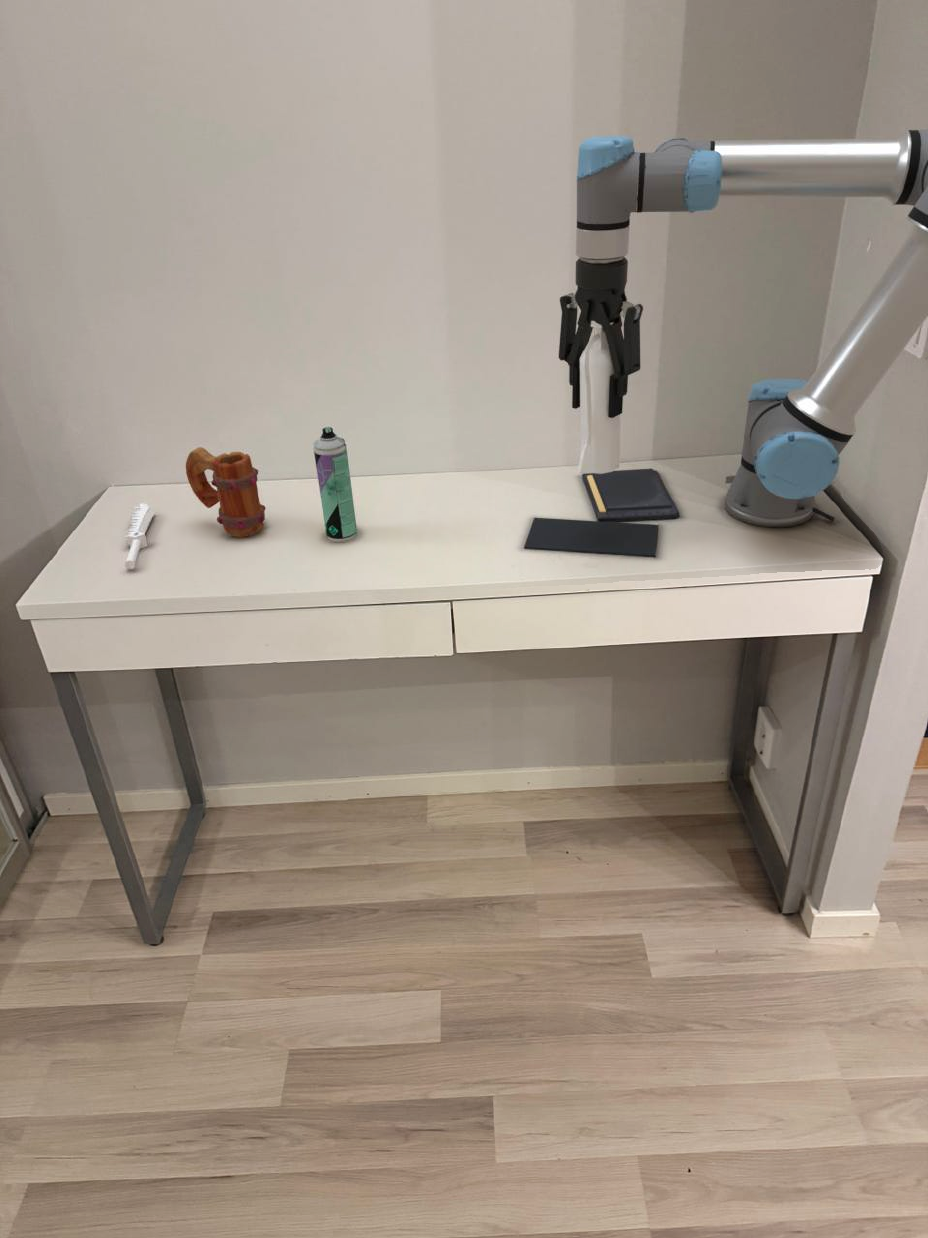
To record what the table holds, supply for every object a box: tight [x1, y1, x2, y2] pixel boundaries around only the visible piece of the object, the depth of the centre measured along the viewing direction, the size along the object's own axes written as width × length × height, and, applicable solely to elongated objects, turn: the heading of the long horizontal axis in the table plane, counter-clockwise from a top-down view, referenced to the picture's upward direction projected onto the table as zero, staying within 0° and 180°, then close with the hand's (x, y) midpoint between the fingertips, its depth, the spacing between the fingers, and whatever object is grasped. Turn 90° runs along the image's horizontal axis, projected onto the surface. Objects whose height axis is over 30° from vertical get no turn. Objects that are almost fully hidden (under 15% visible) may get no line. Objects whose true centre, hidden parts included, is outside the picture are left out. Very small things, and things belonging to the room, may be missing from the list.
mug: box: [185, 446, 266, 538], centre depth 161 cm, size 15×8×15 cm, turn 65°
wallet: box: [581, 468, 681, 522], centre depth 168 cm, size 20×2×15 cm
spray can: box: [313, 426, 358, 543], centre depth 155 cm, size 6×6×20 cm
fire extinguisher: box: [576, 310, 624, 474], centre depth 142 cm, size 7×12×25 cm, turn 143°
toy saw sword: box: [124, 503, 155, 570], centre depth 162 cm, size 3×4×22 cm
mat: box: [523, 517, 660, 558], centre depth 156 cm, size 22×11×1 cm, turn 77°
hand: (596, 410), depth 143 cm, fingers closed on fire extinguisher, 6 cm apart
